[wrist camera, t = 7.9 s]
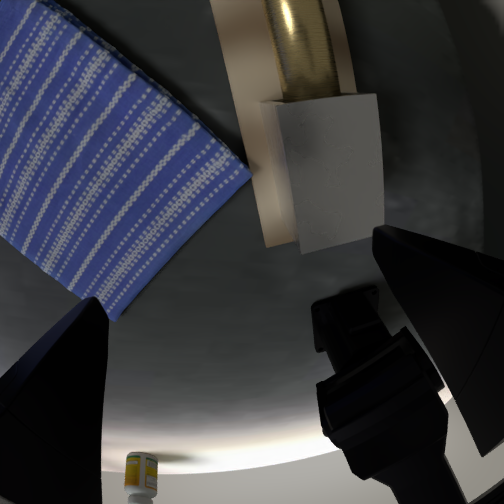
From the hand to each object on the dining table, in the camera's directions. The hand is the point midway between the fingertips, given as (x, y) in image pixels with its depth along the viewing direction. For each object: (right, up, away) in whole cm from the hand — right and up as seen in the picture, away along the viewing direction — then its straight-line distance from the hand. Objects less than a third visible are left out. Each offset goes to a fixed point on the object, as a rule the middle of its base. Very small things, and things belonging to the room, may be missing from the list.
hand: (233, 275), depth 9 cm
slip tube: (+2, +15, +4) cm, 16 cm away
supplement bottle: (-18, -34, +31) cm, 49 cm away
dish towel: (-13, +8, +8) cm, 18 cm away
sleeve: (+4, +7, +10) cm, 13 cm away
